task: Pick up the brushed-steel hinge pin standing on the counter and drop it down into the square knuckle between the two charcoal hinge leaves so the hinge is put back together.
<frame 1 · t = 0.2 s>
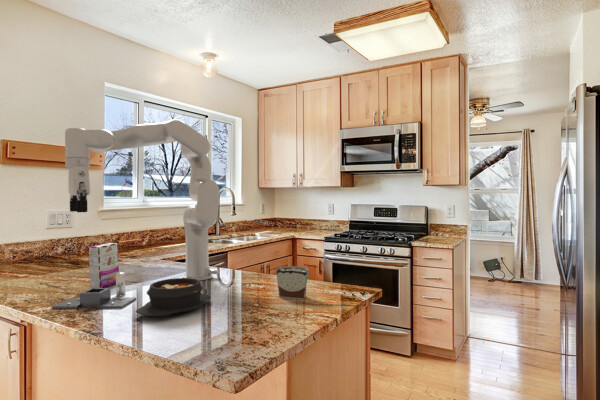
hand: (78, 211, 135), 30 cm above the counter, tool pointing down, fingers open, 9 cm apart
casserole: (175, 310, 119), on the counter
pin: (120, 295, 137), on the counter
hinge: (95, 304, 126), on the counter
candy bar box: (104, 285, 152), on the counter
food container: (294, 296, 134), on the counter
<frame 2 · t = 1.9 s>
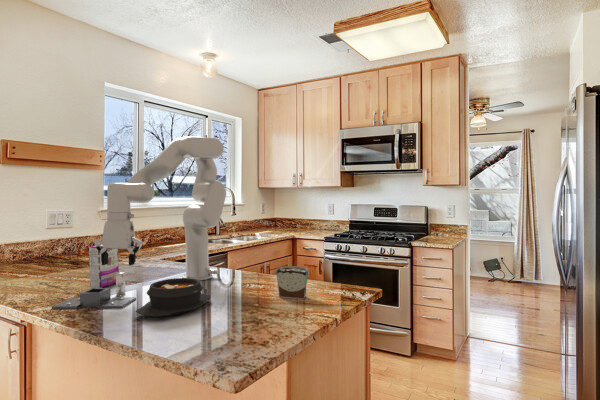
hand: (118, 264, 136), 11 cm above the counter, tool pointing down, fingers open, 9 cm apart
nothing on the counter moved.
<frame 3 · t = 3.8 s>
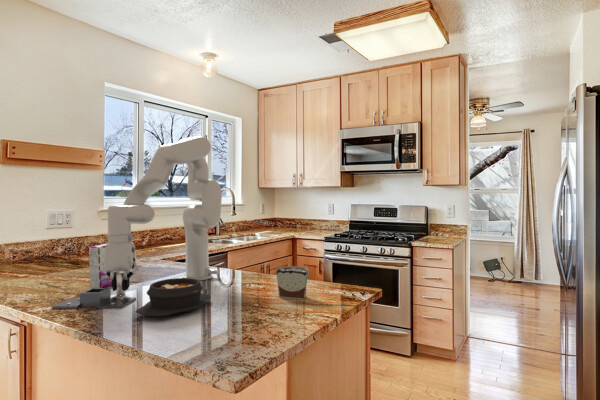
hand: (120, 289, 137), 2 cm above the counter, tool pointing down, fingers closed on pin, 3 cm apart
pin: (120, 295, 137), on the counter, touching gripper
everything else where it was.
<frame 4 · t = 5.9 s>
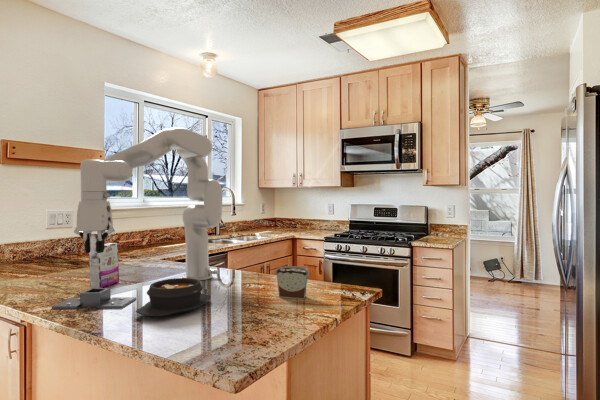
hand: (94, 251, 126), 17 cm above the counter, tool pointing down, fingers closed on pin, 3 cm apart
pin: (94, 258, 126), point 15 cm above the counter, touching gripper
everything else where it was.
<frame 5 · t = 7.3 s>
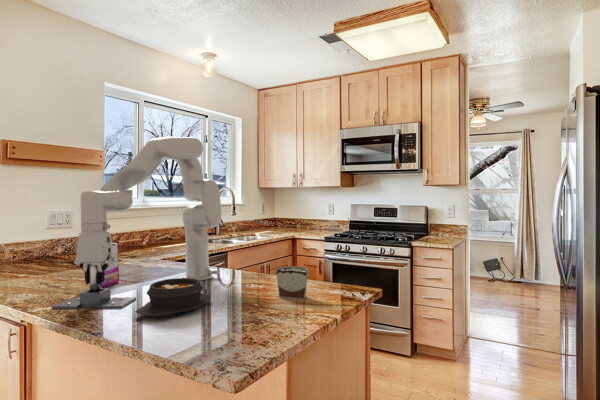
hand: (94, 282, 126), 7 cm above the counter, tool pointing down, fingers closed on pin, 3 cm apart
pin: (94, 288, 126), point 5 cm above the counter, touching gripper
everything else where it was.
when the fingers open (5 cm above the counter, at t = 8.2 s): pin drops 3 cm, resting in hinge.
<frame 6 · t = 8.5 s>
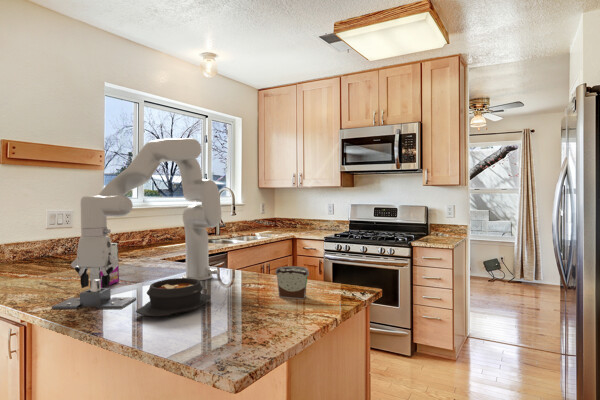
hand: (95, 286, 126), 6 cm above the counter, tool pointing down, fingers open, 6 cm apart
pin: (95, 304, 126), resting in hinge
everything else where it was.
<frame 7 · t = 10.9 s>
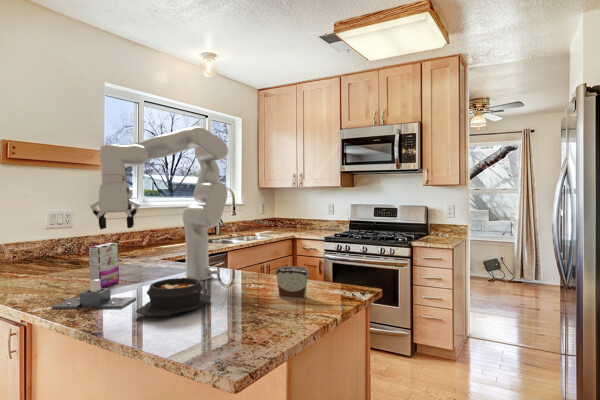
hand: (116, 228, 135), 24 cm above the counter, tool pointing down, fingers open, 9 cm apart
nothing on the counter moved.
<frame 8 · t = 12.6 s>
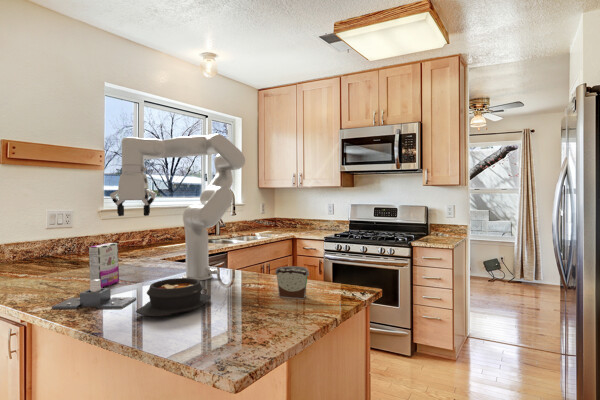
hand: (133, 215, 143), 28 cm above the counter, tool pointing down, fingers open, 9 cm apart
nothing on the counter moved.
at the end: pin 0.0 cm off-centre on the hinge, point 0.0 cm above the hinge's base; pin tilted 0°; the gripper is holding nothing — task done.
